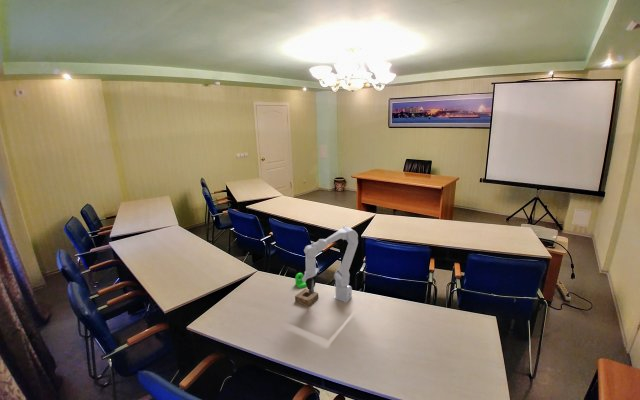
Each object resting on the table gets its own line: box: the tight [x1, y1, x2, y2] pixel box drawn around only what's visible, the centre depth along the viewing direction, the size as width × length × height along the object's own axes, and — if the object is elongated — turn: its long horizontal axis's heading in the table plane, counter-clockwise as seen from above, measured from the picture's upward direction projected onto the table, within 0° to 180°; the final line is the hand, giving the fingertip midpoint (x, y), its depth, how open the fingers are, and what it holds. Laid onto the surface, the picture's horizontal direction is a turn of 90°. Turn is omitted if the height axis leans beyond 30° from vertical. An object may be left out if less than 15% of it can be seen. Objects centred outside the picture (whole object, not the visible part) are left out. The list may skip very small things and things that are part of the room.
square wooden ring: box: [294, 288, 319, 307], centre depth 171 cm, size 10×10×4 cm
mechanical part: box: [294, 272, 307, 289], centre depth 189 cm, size 12×6×8 cm, turn 119°
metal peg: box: [308, 277, 315, 294], centre depth 165 cm, size 3×3×9 cm
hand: (311, 287), depth 166 cm, fingers closed on metal peg, 3 cm apart
